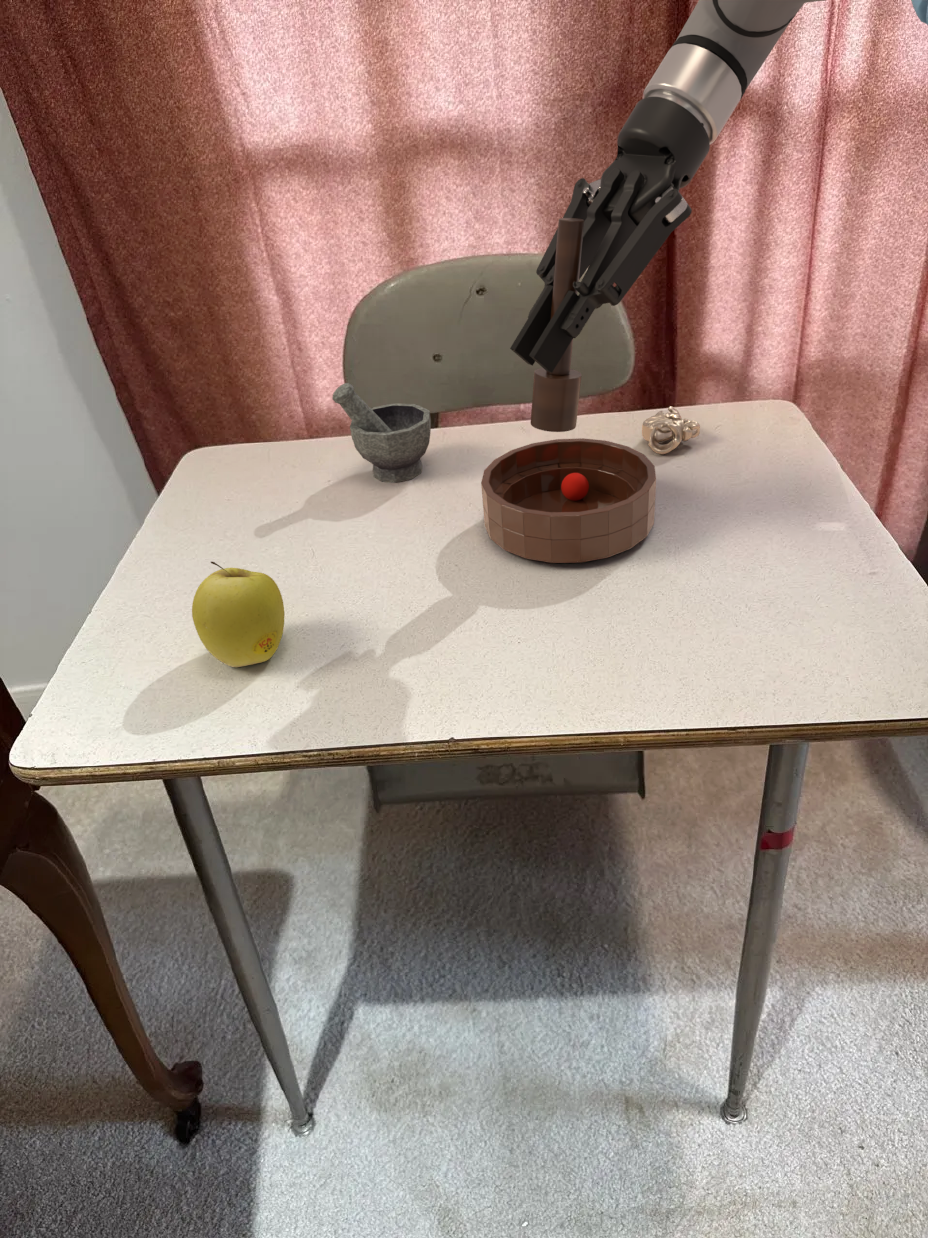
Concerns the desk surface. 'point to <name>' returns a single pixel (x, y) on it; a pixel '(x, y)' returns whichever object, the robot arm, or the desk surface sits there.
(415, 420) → the mortar and pestle
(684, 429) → the ornament
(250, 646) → the apple
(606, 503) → the bowl
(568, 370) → the brown pestle
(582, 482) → the red ball
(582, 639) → the desk surface
